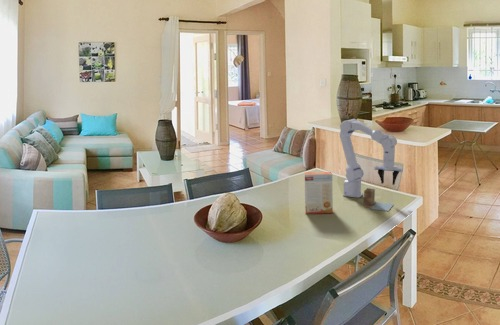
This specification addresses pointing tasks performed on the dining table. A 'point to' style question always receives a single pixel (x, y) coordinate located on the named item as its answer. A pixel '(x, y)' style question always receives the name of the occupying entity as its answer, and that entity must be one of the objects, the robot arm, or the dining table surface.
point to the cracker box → (318, 192)
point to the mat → (382, 206)
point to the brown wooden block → (369, 197)
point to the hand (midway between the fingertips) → (388, 183)
